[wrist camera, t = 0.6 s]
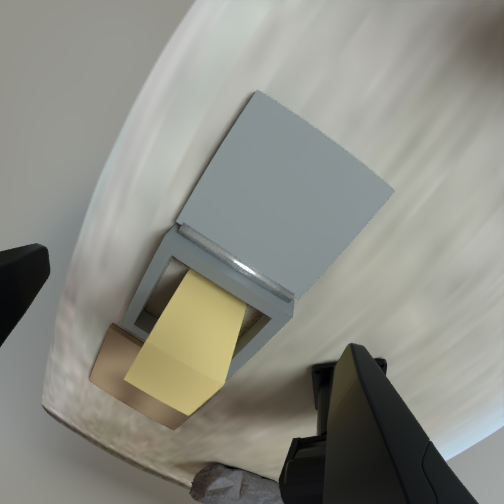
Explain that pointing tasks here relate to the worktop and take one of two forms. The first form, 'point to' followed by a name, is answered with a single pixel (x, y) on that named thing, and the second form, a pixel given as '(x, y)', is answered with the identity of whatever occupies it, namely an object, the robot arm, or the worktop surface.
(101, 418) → the worktop surface
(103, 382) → the walnut board
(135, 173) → the worktop surface
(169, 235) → the hinged window frame
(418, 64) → the worktop surface
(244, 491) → the perforated stone tool
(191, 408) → the block
